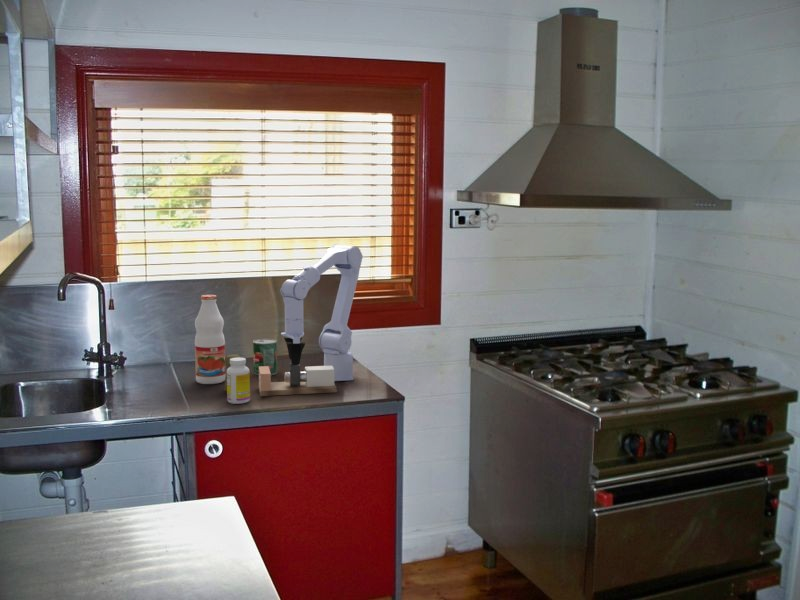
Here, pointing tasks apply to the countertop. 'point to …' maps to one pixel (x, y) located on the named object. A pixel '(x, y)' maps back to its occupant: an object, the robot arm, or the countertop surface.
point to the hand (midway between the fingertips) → (294, 361)
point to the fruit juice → (209, 343)
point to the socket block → (264, 378)
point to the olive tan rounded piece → (227, 362)
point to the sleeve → (319, 376)
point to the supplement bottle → (238, 381)
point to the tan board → (295, 389)
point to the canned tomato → (265, 355)
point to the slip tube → (295, 375)
